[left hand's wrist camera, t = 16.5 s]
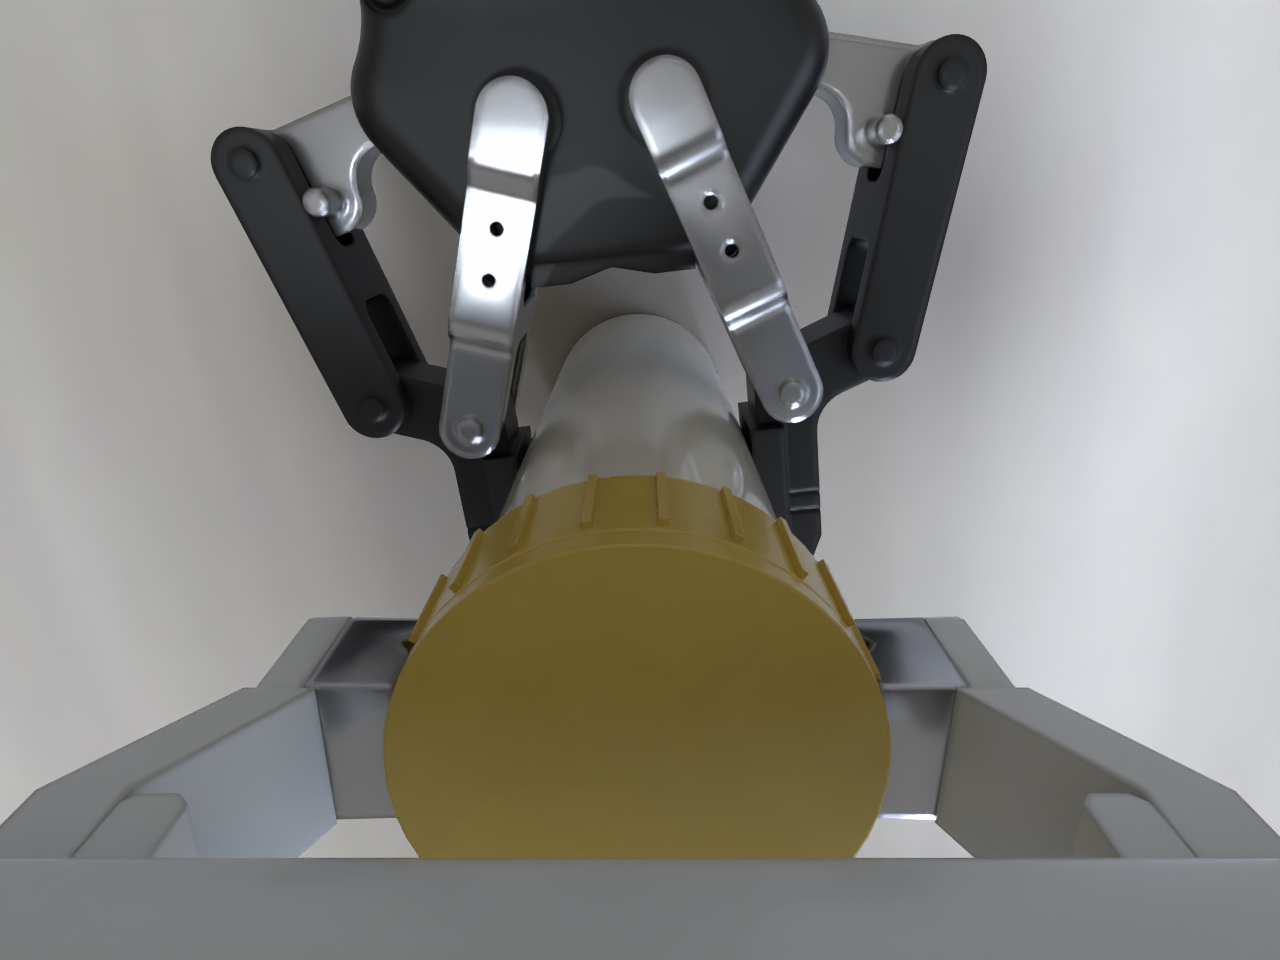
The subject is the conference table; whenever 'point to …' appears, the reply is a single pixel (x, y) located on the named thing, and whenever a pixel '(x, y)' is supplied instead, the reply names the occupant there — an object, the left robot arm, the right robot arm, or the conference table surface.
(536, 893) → the left robot arm
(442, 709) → the lid
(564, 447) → the jar
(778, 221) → the conference table surface
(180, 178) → the conference table surface
